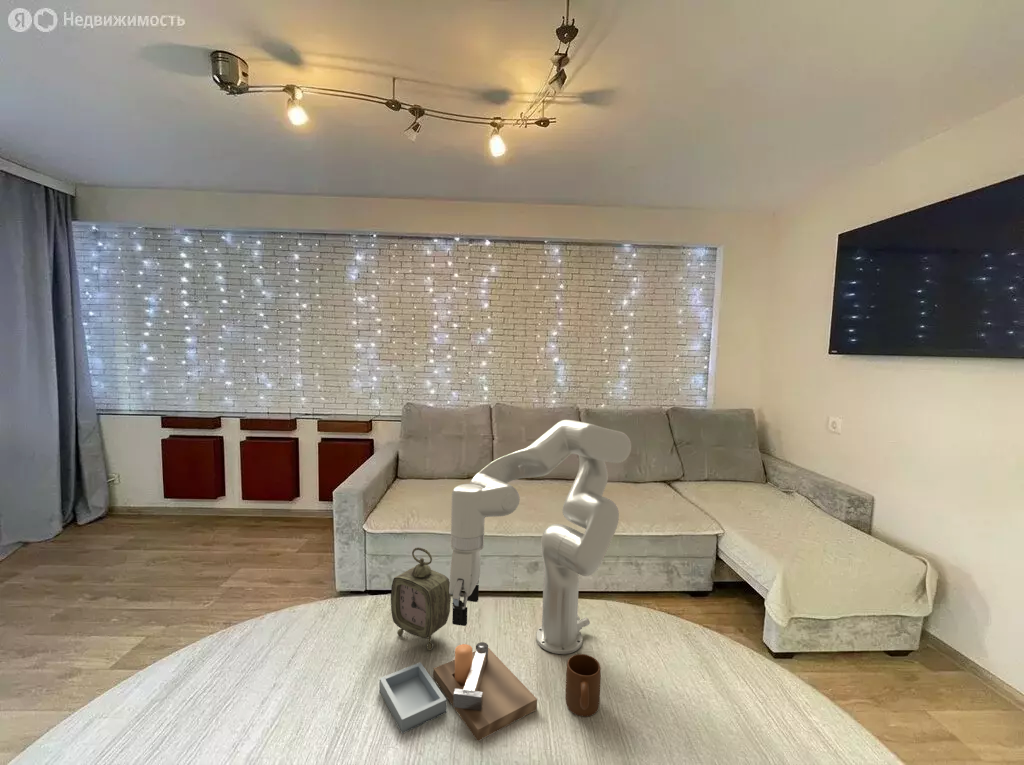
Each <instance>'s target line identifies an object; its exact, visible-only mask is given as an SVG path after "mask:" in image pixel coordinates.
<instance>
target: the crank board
mask: <svg viewBox="0 0 1024 765" xmlns="http://www.w3.org/2000/svg"><path fill="white" fill-rule="evenodd" d="M475 653H476V650H475V651H472V662H473V659H474V656H475ZM432 670H433V671H432V672H433V673H432V675H433V677H432V679H433V681H434V682H435V684H436V685H437V686H438V688H439V689H440V691H441V692H442V694H443V695H444V697H445V698H446V699H447V700H448V701H449V703H450V704H451V705H452V707H453V694H454V691H455V689H463V690H464V686H465V685H464V686H460V685H459V683H458V682H457V681H456V680H455V659H452V660H450V661H448V662H446V663H443V664H440V665H438V666H435V667H433V668H432ZM478 691H479V692H483V703H482V709H481V711H479V710H471V709H464V708H456V707H453V709H454V710H455V711H456V713H457V714H458V715H459V717H460V718H461V720H462V722H463V723H464V725H465V726H466V727H467V729H468V730H469V731H470V732H471V734H472V736H473V737H474V739H475V740H476V742H480V741H481V740H483V739H485V738H487V737H489V736H491V735H492V734H494V733H497V732H498V731H500V730H502V729H504V728H506V727H508V726H509V725H511V724H513V723H515V722H517V721H519V720H520V719H523V718H524V717H526V716H528V715H530V714H531V713H533V712H535V711H537V710H538V698H537V697H536V696H535V695H534V694H533V693H532V691H530V690H529V689H528V688H527V687H526V685H525V684H524V683H523V682H522V681H520V679H519V678H518V677H517V676H516V675H515V674H514V673H513V672H512V671H511V670H510V669H509V667H507V666H506V664H505V663H504V662H503V661H502V660H501V659H500V658H499V657H498V656H497V655H496V653H494V652H493V651H492V650H491V649H490V648H489V647H488V661H487V662H486V664H485V668H484V671H483V675H482V678H481V682H480V685H479V689H478Z"/></svg>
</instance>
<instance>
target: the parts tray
mask: <svg viewBox="0 0 1024 765" xmlns="http://www.w3.org/2000/svg"><path fill="white" fill-rule="evenodd" d="M378 687H379V688H378V689H379V693H380V695H381V696H382V698H383V701H384V702H385V704H386V705H387V706H386V707H387V708H388V710H389V711H390V713H391V715H392V718H393V719H394V721H395V723H396V725H397V727H398V730H399V731H400V733H401V734H404V733H406V732H409V731H410V730H412V729H414V728H417V727H419V726H421V725H423V724H425V723H427V722H429V721H432V720H434V719H435V718H438V717H440V716H442V715H444V714H446V713H447V700H448V699H447V697H446V696H445V694H444V693H443V691H442V690H441V689H440V687H439V686H438V684H437V683H436V681H435V680H434V679H433V677H431V674H429V673H428V671H427V669H426V668H425V666H424V665H423V663H422V662H421V661H419V662H417V663H414V664H412V665H410V666H409V665H408V667H405V668H402V669H400V670H397V671H394V672H392V673H389V674H386V675H384V676H382V677H379V686H378Z"/></svg>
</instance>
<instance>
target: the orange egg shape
mask: <svg viewBox="0 0 1024 765" xmlns="http://www.w3.org/2000/svg"><path fill="white" fill-rule="evenodd" d="M472 652H473V647H472V646H471V645H470V644H466V643H462V644H458V646H456V647H455V649H454V660H455V680H456V681H457V682H458V683H459V685H460V686H464V685H465V683H466V680H467V677H468V674H469V671H470V668H471V665H472Z"/></svg>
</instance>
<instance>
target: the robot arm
mask: <svg viewBox="0 0 1024 765" xmlns="http://www.w3.org/2000/svg"><path fill="white" fill-rule="evenodd" d="M631 451H632V442H631V440H630V437H629V436H628V435H627V434H626V433H625V432H623V431H619V430H615V429H611V428H610V429H609V428H606V427H603V426H599V425H596V424H593V423H588V422H583V421H578V420H574V419H562V420H560V421H557V423H555V424H554V425H553V426H551V428H549V429H548V430H546V431H545V432H544V433H543V434H542V435H540V436H539V437H538V438H537V439H535V440H534V441H533V442H531V444H530V445H527V447H525V448H522V449H519V450H516V451H514V452H510V453H508V454H505V455H503V456H501V457H499V458H497V459H495V460H493V461H491V462H489V463H488V464H487V465H486V466H484V468H482V469H481V470H479V472H477V473H476V474H474V476H473V477H472V478H471V480H470V482H469V483H464V484H463V483H462V484H459V485H456V486H455V487H454V488H453V489H452V493H451V516H450V517H451V521H450V522H451V524H450V527H451V528H450V548H451V550H452V555H451V561H450V562H451V563H450V572H449V573H450V574H449V582H450V585H449V593H450V595H451V596H452V602H451V604H452V622H451V623H452V624H453V625H456V626H461V627H462V626H463V627H466V626H467V625H468V606H467V603H468V602H472V603H478V602H479V592H480V591H479V589H480V588H479V587H480V586H479V583H480V576H481V566H482V565H481V564H482V563H481V559H482V558H481V556H482V555H481V550H483V549H484V547H485V522H486V521H485V520H486V519H485V518H489V517H493V518H494V517H496V518H497V517H506V516H509V515H510V514H512V513H513V512H515V511H516V510H517V508H518V507H519V504H520V493H519V491H518V490H517V489H516V488H515V487H514V486H513V485H511V484H509V483H510V482H513V481H515V480H518V479H519V480H520V479H525V478H537V477H538V478H539V477H545V476H547V475H549V474H550V473H552V471H553V470H555V469H556V468H557V467H558V466H559V465H560V464H561V463H562V462H563V461H565V460H566V459H567V458H568V457H569V456H570V455H572V454H573V455H578V460H579V462H578V463H579V464H578V465H579V466H578V470H577V474H576V477H575V479H574V481H573V483H572V484H571V487H570V489H569V491H568V494H567V495H566V498H565V499H564V502H563V506H562V509H561V510H562V516H563V517H564V518H565V519H566V520H567V521H568V522H570V523H572V524H574V525H576V526H578V527H581V528H583V529H585V530H584V533H582V532H580V531H579V530H576V529H575V528H572V527H570V526H568V525H565V524H561V523H560V524H559V523H554V524H551V525H549V526H547V527H546V528H545V529H544V531H543V533H542V535H541V539H540V551H541V556H542V562H543V564H542V565H543V587H542V613H541V614H542V615H541V617H542V619H541V626H540V627H538V628H537V630H536V634H535V637H536V638H535V639H536V643H537V644H538V646H540V648H542V649H544V650H545V651H547V652H550V653H553V654H557V655H569V654H572V653H575V652H576V651H578V650H579V649H580V648H581V647H582V645H583V635H582V633H581V632H580V631H581V630H582V628H584V627H587V626H590V624H591V623H590V619H589V618H588V617H584V618H582V619H581V618H580V615H578V611H579V609H578V608H579V587H580V578H579V575H580V576H581V577H582V576H583V577H589V576H592V575H594V574H595V573H596V572H597V571H598V570H599V568H600V567H601V565H602V562H603V561H604V558H605V556H606V554H607V552H608V549H609V547H610V545H611V543H612V540H613V538H614V535H615V534H616V530H617V528H618V525H619V520H620V512H619V507H618V506H617V504H616V503H615V502H614V501H613V500H612V499H610V498H607V497H605V496H603V494H604V491H605V489H606V487H607V483H608V481H609V472H608V467H607V464H606V463H613V464H620V463H623V462H624V461H626V460H627V459H628V458H629V456H630V454H631ZM462 591H463V592H462ZM461 597H463V601H462V600H461Z"/></svg>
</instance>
